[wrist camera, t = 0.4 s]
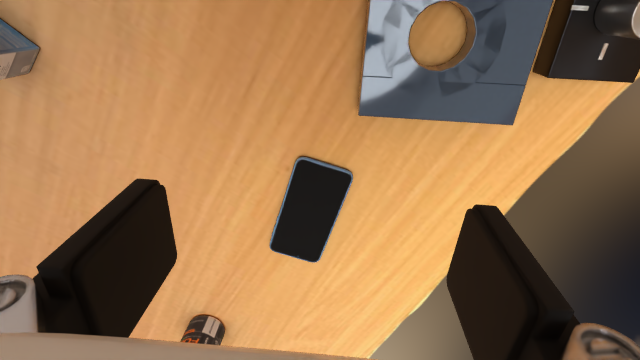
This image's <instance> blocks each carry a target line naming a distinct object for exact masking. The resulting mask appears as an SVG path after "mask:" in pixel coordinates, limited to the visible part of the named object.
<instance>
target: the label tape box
mask: <svg viewBox="0 0 640 360" xmlns="http://www.w3.org/2000/svg"><path fill="white" fill-rule="evenodd" d="M39 49H40V48H39V47H38V46H36V45H35V44H34V43H32V42H31V41H29V40H28V39H27V38H25V37H24V36H23V35H21V34H20V33H19V32H17V31H16V30H15V29H13V28H12V27H11V26H9V25H8V24H6V23H5V22H4V21H2V20H1V19H0V80H1V79H6V78H10V77H15V76H19V75H24V74H28V73H29V71H30V69H31V67H32V65H33V63H34V61H35V59H36V56H37V54H38V52H39Z"/></svg>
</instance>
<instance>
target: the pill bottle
mask: <svg viewBox="0 0 640 360" xmlns="http://www.w3.org/2000/svg"><path fill="white" fill-rule="evenodd" d="M224 333H225V328H224V326H223V324H222V323H221V322H220V321H219V320H217V319H216V318H214V317H211V316H205V315H202V316H197V317H194V318H193V319H192V320H191V321H190V323H189V325H188V327H187V329H186V331H185V333H184V335H183V337H182V339H181V342H185V343H197V344H209V345H221V342H222V339H223V337H224Z"/></svg>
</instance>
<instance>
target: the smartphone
mask: <svg viewBox="0 0 640 360" xmlns="http://www.w3.org/2000/svg"><path fill="white" fill-rule="evenodd" d="M352 180H353V175H352V173H351V172H350V171H348V170H346V169H343V168H340V167H337V166H334V165H330V164H327V163H324V162H321V161H318V160H314V159H311V158H308V157H299V158H298V159H297V160H296V162H295V165H294V168H293V171H292V175H291V178H290V181H289V184H288V187H287V190H286V194H285V197H284V200H283V203H282V206H281V209H280V213H279V216H278V217H277V220H276V221H277V222H276V224H275V227H274V230H273V233H272V238H271V241H270V249H271V250H272V251H274V252H277V253H281V254H284V255H288V256H291V257H294V258H298V259H301V260H305V261H308V262H317V261H319V260H320V258H321V256H322V253H323V251H324V248H325V246H326V244H327V241H328V239H329V236H330V234H331V231H332V229H333V227H334V224H335V222H336V219H337V217H338V215H339V212H340V210H341V207H342V205H343V202H344V200H345V198H346V195H347V193H348V190H349V188H350V186H351V183H352Z"/></svg>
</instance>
